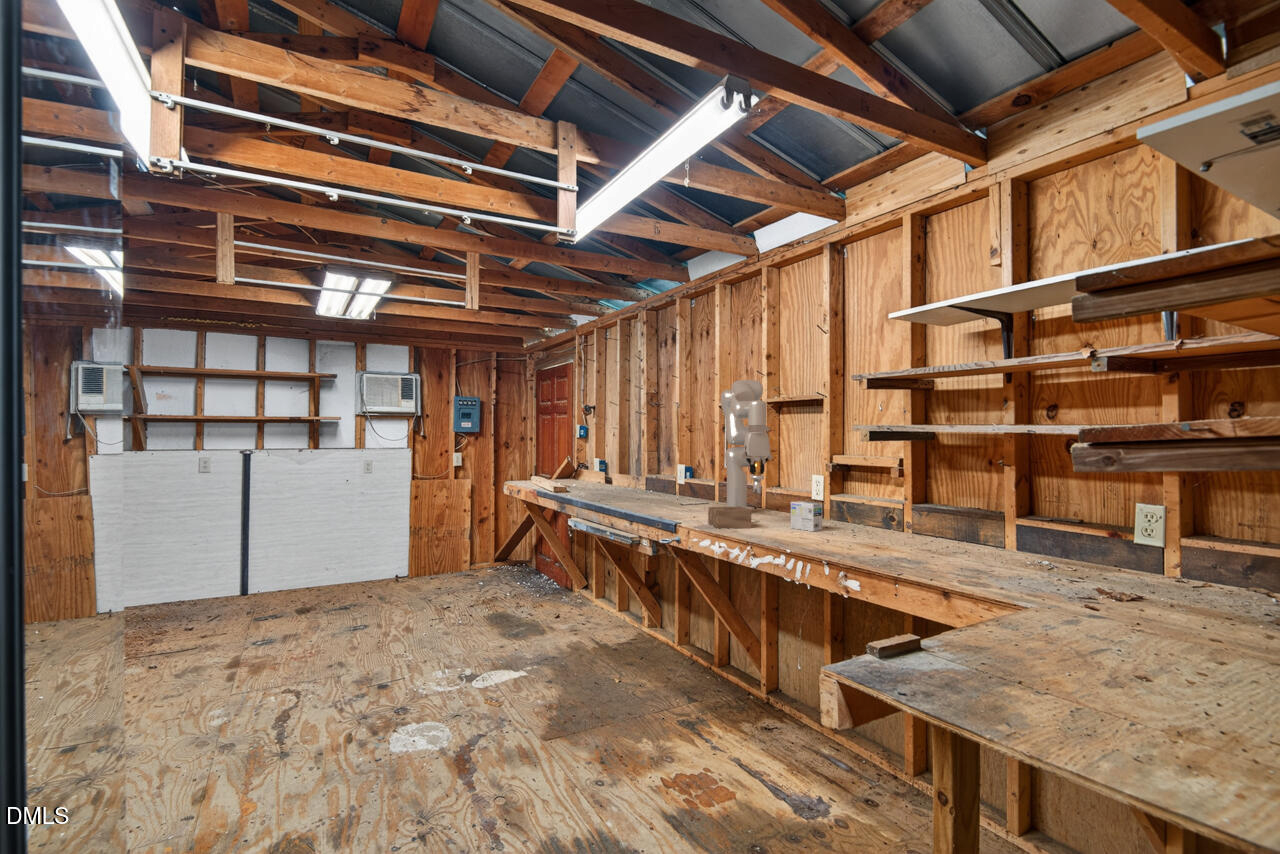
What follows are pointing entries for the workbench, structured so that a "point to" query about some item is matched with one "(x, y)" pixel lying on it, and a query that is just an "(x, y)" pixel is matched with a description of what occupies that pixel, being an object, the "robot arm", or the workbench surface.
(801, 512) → the light bulb box
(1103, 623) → the workbench surface
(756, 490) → the multicoloured piece
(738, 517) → the block
